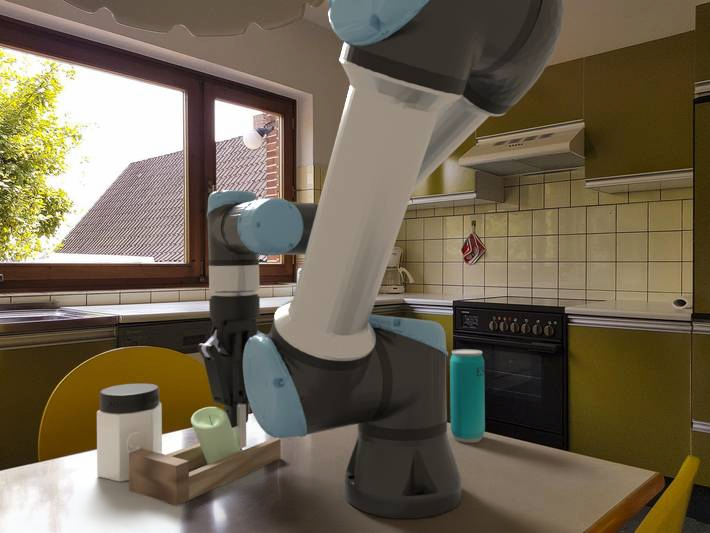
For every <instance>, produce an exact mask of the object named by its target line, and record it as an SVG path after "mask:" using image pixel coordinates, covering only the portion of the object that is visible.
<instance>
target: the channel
mask: <svg viewBox="0 0 710 533" xmlns="http://www.w3.org/2000/svg"><path fill="white" fill-rule="evenodd" d="M281 439H282V438H275V437H272V438H270V439H267V440H265V441H263V442H260V443H258V444H256V445H253V446H251V447H247V448H246V449H243V448H241V449H240V452H238V453H235V454H233V455H230V456H228V457H226V458H223V459H221V460H218V461H216V462H213V463H211V464H207V461H206V459H205V456H204V453H203V451H202V448H201V446H200V443H199V442H197V443H195V444H192V445H189V446H187V447H184V448H181V449H178V450H175V451H172V452H170V453H167V454H164V453H162V454H161V453H157V452H153V451H149V450H146V449H139V450H136V451H133V452H130V453H129V480H128V482H129V483H128V484H129V491H131V492H134V493H137V494H139V495H143V496H146V497H148V498H152V499H155V500H158V501H160V502H164V503H166V504H169V505H172V506H175V507H177V506H179V505H180V506H181V504H184V503H186V502H188V501H190V500H192V499H195V498H197V497H199V496H201V495H203V494H206V493H207V492H210V491H213V490H215V489H217V488H218V487H221V486H223V485H225V484H227V483H229V482H231V481H234V480H236V479H239V478H241V477H243V476H246V475H247V474H249V473H251V472H254V471H257V470H258V469H260V468H262V467H265V466H266V465H269V464H271V463H273V462H275V461H278V460H279V459H281V457H282V456H281V455H282V454H281V453H282V452H281V451H282V450H281V448H282V446H281V444H282V443H281ZM200 466H201V467H200ZM198 467H199V468H198ZM196 468H197V469H196Z"/></svg>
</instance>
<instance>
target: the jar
mask: <svg viewBox="0 0 710 533" xmlns="http://www.w3.org/2000/svg"><path fill="white" fill-rule="evenodd" d="M162 407H163V406H162V402H160V387H159V385H157V384H152V383H141V382H140V383H126V384H117V385H113V386H108V387H106V388H103V389H101V390H100V391H99V410H97V411H96V458H97V459H96V460H97V461H96V463H97V464H96V465H97V466H96V470H97V472H96V473H97V475H96V476H97V477H98V478H101V479H107V480H111V481H115V482H118V483H121V482H126V481H129V453H130V452H133V451H136V450H139V449H146V450H149V451H153V452H157V453H161V454H163V434H162V433H163V428H162V427H163V425H162V424H163V421H162V419H163V418H162V416H163V415H162V414H163V412H162V409H163V408H162Z"/></svg>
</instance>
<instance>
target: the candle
mask: <svg viewBox="0 0 710 533" xmlns="http://www.w3.org/2000/svg"><path fill="white" fill-rule="evenodd" d="M190 423H191V425H192V428H193V431H194V434H195V436H196V438H197V440H198V443H200V446H201V448H202V451H203V453H204V456H205V459H206V461H207V463H206V465H208V464H211V463H213V462H216V461H218V460H221V459H223V458H226V457H228V456H230V455H233V454H235V453H238V452H240V451H241V450H240V448H239V445H238V443H237V440H236V437H235V435H234V432H233V429H232V426H231V424H230V421H229V418H228V416H227V413H226V412H225V409H223V408H220V407H218V406H217V407H216V406H208V407H207V406H206V407H203V408H200V409H198V410H196V411H195V412H194V413H193V414H192V416H191V418H190Z"/></svg>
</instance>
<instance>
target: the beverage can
mask: <svg viewBox="0 0 710 533" xmlns="http://www.w3.org/2000/svg"><path fill="white" fill-rule="evenodd" d="M451 353H452V354H451V356H450V359H449V371H450V372H449V378H450V379H449V380H450V383H449V384H450V388H449V389H450V395H449V398H450V401H449V403H450V406H449V407H450V430H451V434H452V436H453V438H454V440H456V441H457V442H460V443H466V444H473V443H475V444H476V443H479V442H480V441H482V439H483V436H484V433H485V431H486V417H485V416H486V415H485V414H486V412H485V411H486V409H485V408H486V406H485V404H486V403H485V398H486V397H485V396H486V395H485V388H486V387H485V386H486V385H485V360H484V357H483V355H482V354H483V351H482V350H479V349H468V348H461V349H459V348H458V349H453V350H451Z"/></svg>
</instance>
